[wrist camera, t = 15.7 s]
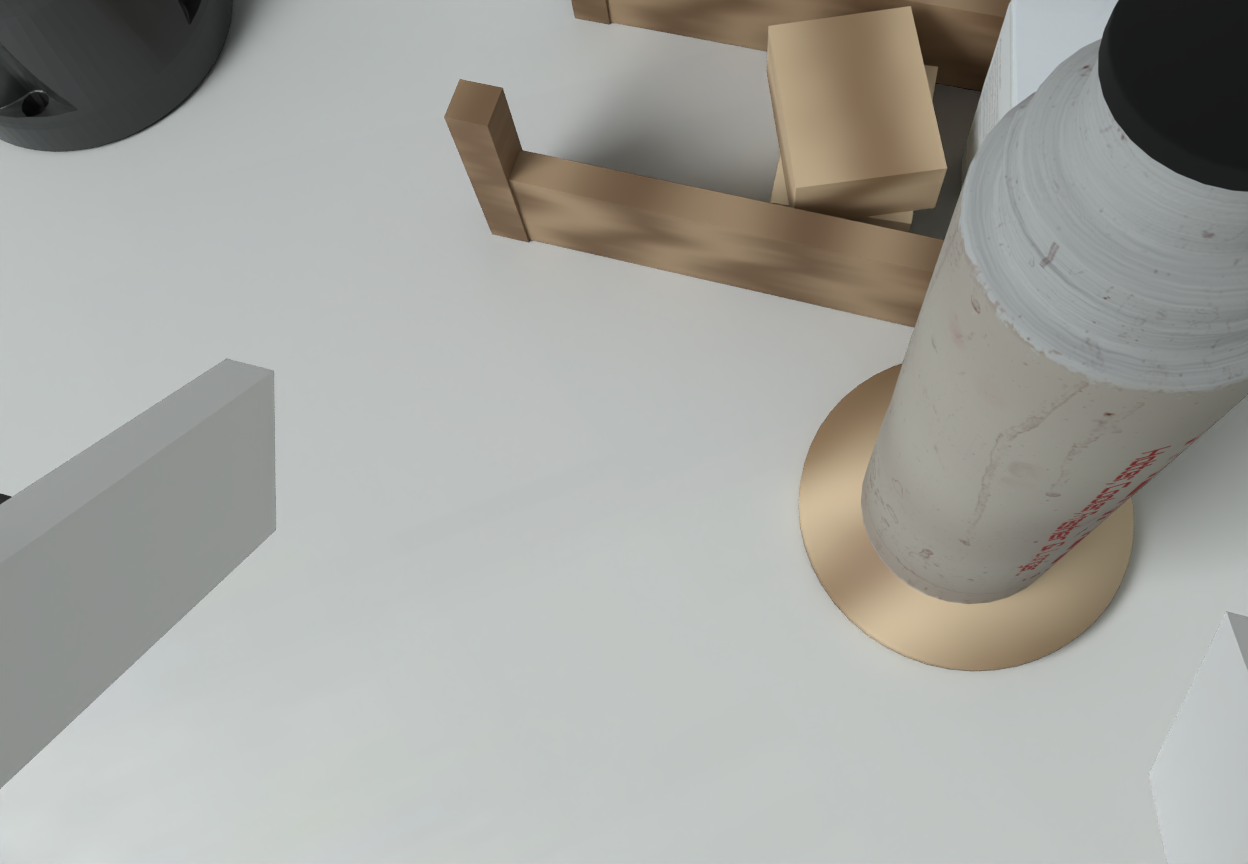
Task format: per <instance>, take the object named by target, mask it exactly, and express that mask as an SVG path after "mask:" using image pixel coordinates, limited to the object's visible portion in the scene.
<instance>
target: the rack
mask: <svg viewBox="0 0 1248 864" xmlns="http://www.w3.org/2000/svg"><path fill="white" fill-rule="evenodd" d="M1010 1H1011V0H572V5H573V10H574V15H575V18H578V19H583V20H589V21H594V22H599V23H605V24H610V22H613V23H619V24H624V25H629V26H635V27H640V28H645V29H651V30H656V31H661V32H667V33H672V34H678V35H683V36H688V37H694V38H699V39H704V40H710V41H715V42H720V43H726V44H731V45H736V46H742V47H747V48H752V49H758V50H763V51H767V50H768V26H772V25H779V24H786V23H793V22H800V21H807V20H814V19H822V18H829V17H836V16H843V15H850V14H857V13H865V12H872V11H879V10H886V9H893V8H900V7H907V6H911V9H912V14H913V18H914V23H915V27H916V31H917V36H918V40H919V45H920V49H921V54H922V58H923V63H924V65H928V66H935V67H938V70H937V76H936V82H935V83H940V84H945V85H950V86H956V87H961V88H966V89H972V90H977V91H982V89H983V86H984V82H985V79H986V76H987V73H988V70H989V67H990V64H991V61H992V58H993V54H994V51H995V48H996V45H997V41H998V38H999V35H1000V31H1001V28H1002V25H1003V22H1004V19H1005V15H1006V12H1007V9H1008V6H1009V3H1010ZM444 118H445V120H446V123H447V125H448V127H449V130H450V132H451V135H452V137H453V140H454V142H455V144H456V147H457V149H458V152H459V154H460V157H461V159H462V162H463V164H464V166H465V169H466V171H467V174H468V176H469V179H470V181H471V183H472V186H473V188H474V191H475V193H476V196H477V198H478V201H479V203H480V205H481V208H482V210H483V213H484V215H485V218H486V220H487V223H488V225H489V227H490V230H491V232H492V234H495V235H499V236H503V237H508V238H512V239H517V240H521V241H525V242H529V240H534V241H539V242H543V243H547V244H552V245H556V246H560V247H565V248H569V249H574V250H578V251H582V252H587V253H591V254H595V255H600V256H604V257H609V258H613V259H617V260H622V261H626V262H631V263H635V264H639V265H644V266H648V267H652V268H657V269H661V270H666V271H670V272H674V273H679V274H683V275H687V276H692V277H696V278H701V279H705V280H709V281H714V282H718V283H723V284H727V285H731V286H736V287H740V288H744V289H749V290H753V291H758V292H762V293H766V294H771V295H775V296H779V297H784V298H788V299H793V300H797V301H801V302H806V303H810V304H815V305H819V306H823V307H828V308H832V309H836V310H841V311H845V312H850V313H854V314H858V315H863V316H867V317H871V318H876V319H880V320H885V321H889V322H893V323H898V324H902V325H907V326H911V327H915V325H916V322H917V319H918V316H919V313H920V310H921V307H922V304H923V302H924V299H925V296H926V293H927V290H928V287H929V284H930V281H931V278H932V275H933V272H934V269H935V266H936V263H937V260H938V257H939V254H940V251H941V248H942V245H943V243H944V240H941V239H937V238H932V237H927V236H922V235H918V234H913V233H908V232H904V231H899V230H894V229H890V228H885V227H880V226H875V225H871V224H866V223H861V222H857V221H852V220H847V219H843V218H838V217H833V216H828V215H824V214H819V213H814V212H810V211H805V210H800V209H796V208H791V207H786V206H781V205H777V204H772V203H767V202H763V201H758V200H753V199H749V198H744V197H739V196H734V195H730V194H725V193H720V192H716V191H711V190H706V189H702V188H697V187H692V186H687V185H683V184H678V183H673V182H669V181H664V180H659V179H655V178H650V177H645V176H640V175H636V174H631V173H626V172H622V171H617V170H612V169H607V168H603V167H598V166H593V165H589V164H584V163H579V162H575V161H570V160H565V159H560V158H556V157H551V156H546V155H542V154H537V153H532V152H528V151H523V150H522V147H521V144H520V141H519V138H518V135H517V132H516V129H515V125H514V122H513V119H512V116H511V113H510V110H509V106H508V103H507V100H506V97H505V94H504V91H503V88H501V87H496V86H491V85H486V84H481V83H476V82H471V81H466V80H461V79H460V80H459V83H458V85H457V87H456V90H455V92H454V95H453V97H452V100H451V102H450V104H449V107H448V109H447V112H446V114H445V116H444Z"/></svg>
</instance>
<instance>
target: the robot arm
mask: <svg viewBox="0 0 1248 864" xmlns="http://www.w3.org/2000/svg"><path fill="white" fill-rule="evenodd" d="M231 13H232V0H0V139H1V140H3V141H5V142H8V143H10V144H13V145H16V146H19V147H23V148H28V149H33V150H40V151H55V152H56V151H74V150H82V149H88V148H93V147H97V146H101V145H105V144H108V143H111V142H114V141H117V140H120V139H122V138H125V137H127V136H130V135H132V134H134V133H136V132H138V131H140V130H142V129H144V128H146V127H147V126H149V125H151V124H153V123H154V122H156V121H157V120H159V119H160V118H162V117H163V116H165V115H166V114H167V113H169V112H170V111H171V110H173V109H174V108H175V107H176V106H178V105H179V104H180V103H181V102H182V101H183V100H184V99H185V98H186V97H188V96H189V94H190V93H191V92H192V91H193V90H194V89H195V88H196V87H197V86H198V85H199V83H200V82H201V81H202V80H203V79H204V77H205V76H206V74H207V73H208V72H209V70H210V69H211V67H212V66H213V64H214V62H215V61H216V59H217V57H218V55H219V53H220V51H221V49H222V46H223V44H224V42H225V39H226V36H227V33H228V29H229V25H230V20H231ZM275 530H276V488H275V414H274V371H273V370H269V369H265V368H262V367H258V366H254V365H250V364H246V363H242V362H238V361H234V360H230V359H225V360H224V361H222V362H221V363H219V364H217V365H216V366H214V367H213V368H211V369H210V370H208V371H207V372H205V373H203V374H202V375H200V376H199V377H197V378H196V379H194V380H193V381H191V382H189V383H188V384H186V385H185V386H183V387H182V388H180V389H179V390H177V391H176V392H174V393H172V394H171V395H169V396H168V397H166V398H165V399H163V400H162V401H160V402H158V403H157V404H155V405H154V406H152V407H151V408H149V409H148V410H146V411H145V412H143V413H141V414H140V415H138V416H137V417H135V418H134V419H132V420H131V421H129V422H127V423H126V424H124V425H123V426H121V427H120V428H118V429H117V430H115V431H114V432H112V433H110V434H109V435H107V436H106V437H104V438H103V439H101V440H100V441H98V442H96V443H95V444H93V445H92V446H90V447H89V448H87V449H86V450H84V451H82V452H81V453H79V454H78V455H76V456H75V457H73V458H72V459H70V460H69V461H67V462H65V463H64V464H62V465H61V466H59V467H58V468H56V469H55V470H53V471H51V472H50V473H48V474H47V475H45V476H44V477H42V478H41V479H39V480H38V481H36V482H34V483H33V484H31V485H30V486H28V487H27V488H25V489H24V490H22V491H20V492H19V493H17V494H16V495H14V496H13V497H11V496H7V495H4V494H0V789H1V788H2V787H3V786H4V785H5V784H6V783H7V782H8V781H9V780H10V779H11V778H12V777H13V776H15V775H16V774H17V773H18V772H19V771H20V770H21V769H22V768H23V767H24V766H25V765H26V764H27V763H28V762H29V761H31V760H32V759H33V758H34V757H35V756H36V755H37V754H38V753H39V752H40V751H41V750H42V749H43V748H44V747H45V746H46V745H48V744H49V743H50V742H51V741H52V740H53V739H54V738H55V737H56V736H57V735H58V734H59V733H60V732H61V731H62V730H64V729H65V728H66V727H67V726H68V725H69V724H70V723H71V722H72V721H73V720H74V719H75V718H76V717H77V716H78V715H79V714H81V713H82V712H83V711H84V710H85V709H86V708H87V707H88V706H89V705H90V704H91V703H92V702H93V701H94V700H95V699H96V698H98V697H99V696H100V695H101V694H102V693H103V692H104V691H105V690H106V689H107V688H108V687H109V686H110V685H111V684H112V683H114V682H115V681H116V680H117V679H118V678H119V677H120V676H121V675H122V674H123V673H124V672H125V671H126V670H127V669H128V668H129V667H131V666H132V665H133V664H134V663H135V662H136V661H137V660H138V659H139V658H140V657H141V656H142V655H143V654H144V653H145V652H147V651H148V650H149V649H150V648H151V647H152V646H153V645H154V644H155V643H156V642H157V641H158V640H159V639H160V638H161V637H162V636H164V635H165V634H166V633H167V632H168V631H169V630H170V629H171V628H172V627H173V626H174V625H175V624H176V623H177V622H178V621H180V620H181V619H182V618H183V617H184V616H185V615H186V614H187V613H188V612H189V611H190V610H191V609H192V608H193V607H194V606H195V605H197V604H198V603H199V602H200V601H201V600H202V599H203V598H204V597H205V596H206V595H207V594H208V593H209V592H210V591H211V590H213V589H214V588H215V587H216V586H217V585H218V584H219V583H220V582H221V581H222V580H223V579H224V578H225V577H226V576H227V575H228V574H230V573H231V572H232V571H233V570H234V569H235V568H236V567H237V566H238V565H239V564H240V563H241V562H242V561H243V560H244V559H246V558H247V557H248V556H249V555H250V554H251V553H252V552H253V551H254V550H255V549H256V548H257V547H258V546H259V545H260V544H261V543H263V542H264V541H265V540H266V539H267V538H268V537H269V536H270V535H271V534H272V533H273V532H274V531H275ZM1149 778H1150V783H1151V788H1152V793H1153V797H1154V802H1155V807H1156V812H1157V817H1158V822H1159V827H1160V831H1161V836H1162V841H1163V846H1164V851H1165V856H1166V861H1167V864H1248V617H1246V616H1242V615H1238V614H1234V613H1230V612H1226V613H1225V615H1224V617H1223V619H1222V622H1221V624H1220V626H1219V628H1218V630H1217V632H1216V634H1215V636H1214V638H1213V640H1212V642H1211V645H1210V647H1209V649H1208V651H1207V653H1206V655H1205V657H1204V659H1203V661H1202V663H1201V666H1200V668H1199V670H1198V672H1197V674H1196V676H1195V678H1194V680H1193V682H1192V684H1191V686H1190V689H1189V691H1188V693H1187V695H1186V697H1185V699H1184V701H1183V703H1182V705H1181V707H1180V710H1179V712H1178V714H1177V716H1176V718H1175V720H1174V722H1173V724H1172V726H1171V728H1170V730H1169V733H1168V735H1167V737H1166V739H1165V741H1164V743H1163V745H1162V747H1161V749H1160V751H1159V754H1158V756H1157V758H1156V760H1155V762H1154V764H1153V766H1152V768H1151V770H1150V772H1149Z"/></svg>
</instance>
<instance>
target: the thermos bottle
mask: <svg viewBox="0 0 1248 864" xmlns="http://www.w3.org/2000/svg"><path fill="white" fill-rule="evenodd" d="M1247 395H1248V0H1118V2H1117V3H1116V5H1115V7H1114V9H1113V11H1112V13H1111V15H1110V18H1109V20H1108V22H1107V24H1106V27H1105V29H1104V32H1103V36H1102V38H1101V39H1099V40H1097V41H1095V42H1093V43H1091V44H1088V45H1086V46H1084V47H1082V48H1081V49H1079V50H1078V51H1077V52H1075V53H1074V54H1073V55H1071V56H1070V57H1068V58H1067V59H1066V60H1064V61H1063V62H1062V63H1060V64H1059V65H1058V66H1057V67H1056V68H1055V69H1054V71H1053V72H1052V73H1051V74H1050V75H1049V76H1048V77H1047V78H1046V79H1045V81H1044V82H1043V83H1042V84H1041V85H1040V86H1039V88H1038V90H1037V91H1036V92H1034V93H1032V94H1031V95H1030V96H1028V97H1027V98H1026V99H1024V100H1023V101H1022V102H1020V103H1019V104H1017V105H1016V106H1015V107H1013V108H1012V109H1011V110H1009V111H1008V112H1007V113H1006V114H1005V115H1004V117H1003V118H1002V119H1001V120H1000V121H999V122H998V123H997V124H996V125H995V127H994V128H993V129H992V130H991V131H990V132H989V133H988V134H987V135H986V137H985V139H984V140H983V142H982V144H981V146H980V147H979V149H978V151H977V153H976V155H975V156H974V158H973V160H972V162H971V164H970V166H969V169H968V172H967V175H966V178H965V181H964V184H963V186H962V189H961V192H960V195H959V198H958V201H957V204H956V207H955V210H954V213H953V216H952V219H951V222H950V225H949V228H948V231H947V234H946V237H945V240H944V243H943V245H942V248H941V251H940V254H939V257H938V260H937V263H936V266H935V269H934V272H933V275H932V278H931V281H930V284H929V287H928V290H927V293H926V296H925V299H924V302H923V304H922V307H921V310H920V313H919V316H918V319H917V322H916V325H915V328H914V331H913V334H912V337H911V340H910V343H909V346H908V349H907V352H906V355H905V358H904V361H903V364H902V367H901V370H900V373H899V377H898V380H897V383H896V387H895V390H894V393H893V396H892V400H891V403H890V405H889V407H888V410H887V412H886V414H885V417H884V420H883V423H882V425H881V428H880V431H879V434H878V437H877V440H876V443H875V446H874V449H873V452H872V455H871V458H870V461H869V464H868V467H867V470H866V474H865V477H864V480H863V484H862V494H861V509H862V517H863V523H864V526H865V529H866V532H867V535H868V538H869V540H870V542H871V544H872V546H873V547H874V549H875V551H876V552H877V554H878V556H879V558H880V559H881V560H882V561H883V562H884V563H885V565H886V566H887V567H888V568H889V569H890V570H891V571H892V573H894V574H895V575H896V576H897V577H899V578H900V579H901V580H902V581H904V582H905V583H906V584H907V585H909V586H910V587H912V588H914V589H916V590H918V591H920V592H922V593H924V594H926V595H928V596H931V597H934V598H937V599H940V600H944V601H947V602H954V603H963V604H978V603H989V602H993V601H997V600H1000V599H1004V598H1008V597H1010V596H1012V595H1014V594H1016V593H1018V592H1020V591H1022V590H1024V589H1026V588H1027V587H1028V586H1030V585H1031V584H1032V583H1033V582H1034V581H1036V580H1037V579H1038V578H1039V577H1041V576H1042V575H1043V574H1044V573H1045V572H1046V571H1048V570H1049V569H1050V568H1051V567H1052V566H1053V565H1054V564H1056V563H1057V562H1058V561H1059V560H1060V559H1061V558H1062V557H1064V556H1065V555H1066V554H1067V553H1068V552H1069V551H1070V550H1071V549H1073V548H1074V547H1075V546H1076V545H1077V544H1078V543H1079V542H1081V541H1082V540H1083V539H1084V538H1085V537H1086V536H1087V535H1089V534H1090V533H1091V532H1092V531H1093V530H1094V529H1095V528H1096V527H1098V526H1099V525H1100V524H1101V523H1102V522H1103V521H1104V520H1106V519H1107V518H1108V517H1109V516H1110V515H1111V514H1112V513H1113V512H1115V511H1116V510H1117V509H1118V508H1119V507H1120V506H1121V505H1122V504H1124V503H1125V502H1126V501H1127V500H1128V499H1129V498H1130V497H1132V496H1133V495H1134V494H1135V493H1136V492H1137V491H1138V490H1140V489H1141V488H1142V487H1143V486H1144V485H1145V484H1146V483H1148V482H1149V481H1150V480H1151V479H1152V478H1153V477H1154V476H1156V475H1157V474H1158V473H1159V472H1160V471H1161V470H1162V469H1164V468H1165V467H1166V466H1167V465H1168V464H1169V463H1170V462H1172V461H1173V460H1174V459H1175V458H1176V457H1177V456H1178V455H1179V454H1181V453H1182V452H1183V451H1184V450H1185V449H1186V448H1187V447H1189V446H1190V445H1191V444H1192V443H1193V442H1194V441H1195V440H1197V439H1198V438H1199V437H1200V436H1201V435H1202V434H1203V433H1204V432H1206V431H1207V430H1208V429H1209V428H1210V427H1211V426H1212V425H1214V424H1215V423H1216V422H1217V421H1218V420H1219V419H1220V418H1222V417H1223V416H1224V415H1225V414H1226V413H1227V412H1228V411H1229V410H1231V409H1232V408H1233V407H1234V406H1235V405H1236V404H1237V403H1239V402H1240V401H1241V400H1242V399H1243V398H1244V397H1245V396H1247Z"/></svg>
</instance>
